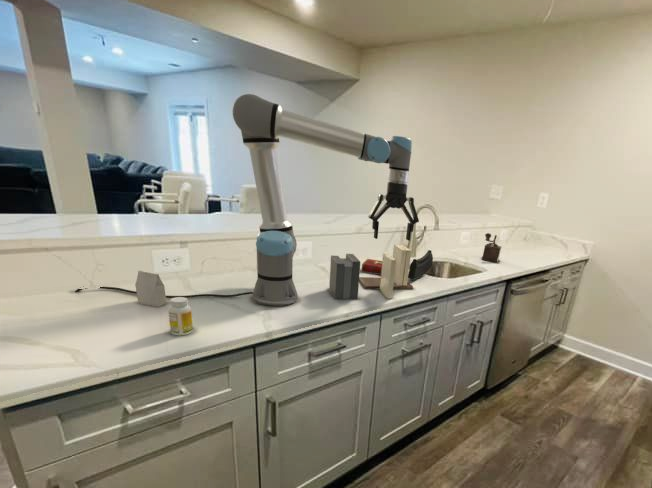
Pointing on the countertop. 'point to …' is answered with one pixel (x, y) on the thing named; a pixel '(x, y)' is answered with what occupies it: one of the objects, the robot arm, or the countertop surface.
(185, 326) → the supplement bottle
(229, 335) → the countertop surface
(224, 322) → the countertop surface
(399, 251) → the white books
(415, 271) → the magazine
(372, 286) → the shelf board
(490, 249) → the manual coffee grinder
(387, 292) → the white book
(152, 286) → the grey stone
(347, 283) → the grey books
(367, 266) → the hardcover book
